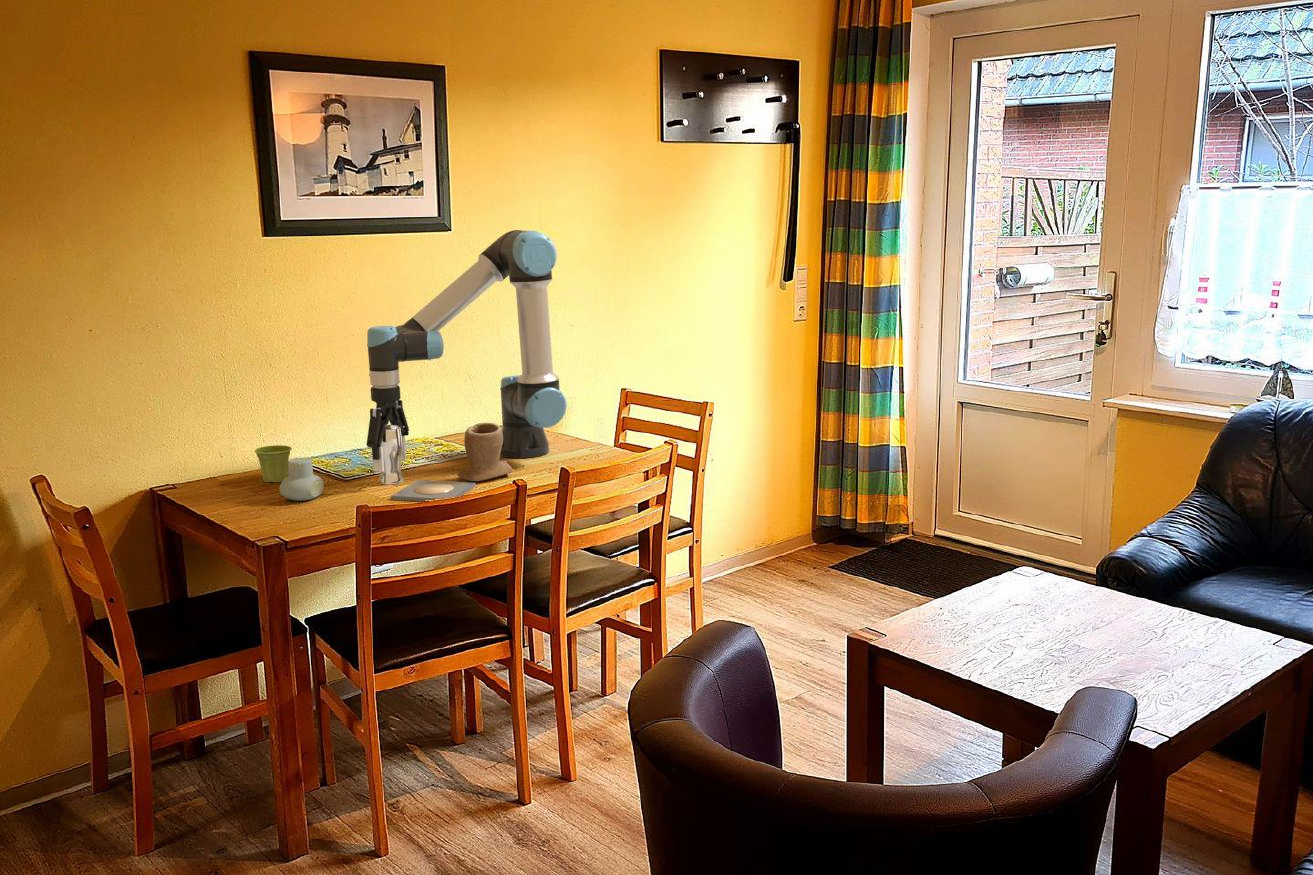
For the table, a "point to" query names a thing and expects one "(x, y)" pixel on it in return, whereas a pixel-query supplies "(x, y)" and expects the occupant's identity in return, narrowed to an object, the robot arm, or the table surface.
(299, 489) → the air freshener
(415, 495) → the slate board
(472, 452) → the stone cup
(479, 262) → the robot arm
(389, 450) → the beer glass
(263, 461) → the plant pot
